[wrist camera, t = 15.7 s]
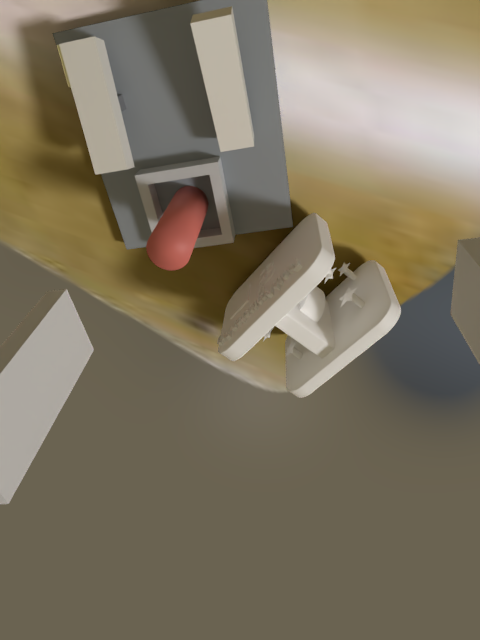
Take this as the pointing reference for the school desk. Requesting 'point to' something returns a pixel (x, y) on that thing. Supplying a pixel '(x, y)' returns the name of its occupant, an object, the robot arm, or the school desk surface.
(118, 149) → the block
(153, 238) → the red capsule
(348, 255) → the school desk surface
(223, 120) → the block
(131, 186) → the panel
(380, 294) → the cable organizer
